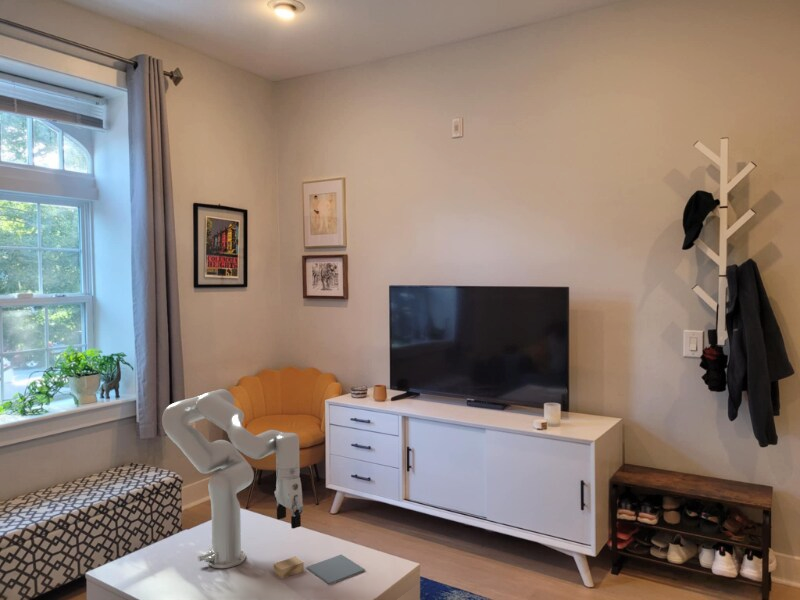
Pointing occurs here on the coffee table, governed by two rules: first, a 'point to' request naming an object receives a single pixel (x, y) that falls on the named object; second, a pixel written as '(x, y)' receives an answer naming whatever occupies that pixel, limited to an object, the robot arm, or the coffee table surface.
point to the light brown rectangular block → (288, 567)
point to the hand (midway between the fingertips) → (288, 522)
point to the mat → (335, 569)
